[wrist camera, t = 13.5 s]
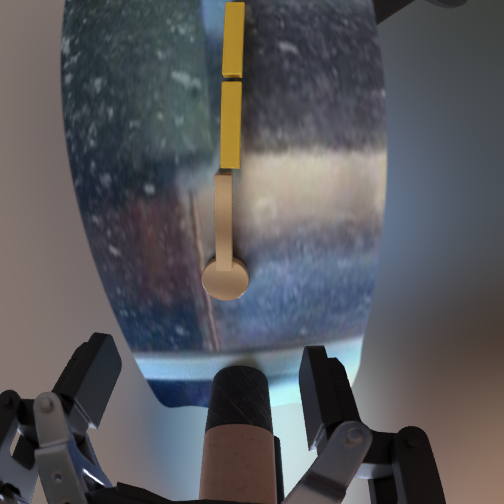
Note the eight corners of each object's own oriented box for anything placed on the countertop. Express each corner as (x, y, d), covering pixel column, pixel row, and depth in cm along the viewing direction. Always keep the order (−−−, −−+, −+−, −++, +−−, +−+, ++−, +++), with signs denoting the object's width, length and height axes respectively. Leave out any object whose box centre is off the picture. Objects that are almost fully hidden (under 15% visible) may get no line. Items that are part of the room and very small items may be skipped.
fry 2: (223, 84, 19) (221, 81, 18) (242, 84, 19) (241, 81, 18) (222, 166, 22) (220, 168, 21) (240, 166, 22) (239, 168, 21)
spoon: (198, 172, 22) (195, 174, 21) (251, 172, 22) (251, 175, 21) (204, 294, 27) (202, 303, 26) (248, 295, 27) (248, 305, 26)
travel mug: (210, 362, 31) (191, 520, 13) (273, 365, 32) (286, 523, 13) (211, 396, 34) (199, 528, 16) (266, 399, 35) (273, 530, 17)
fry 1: (227, 9, 16) (225, 2, 15) (244, 8, 16) (244, 1, 15) (223, 77, 19) (222, 74, 18) (242, 77, 19) (241, 74, 18)
